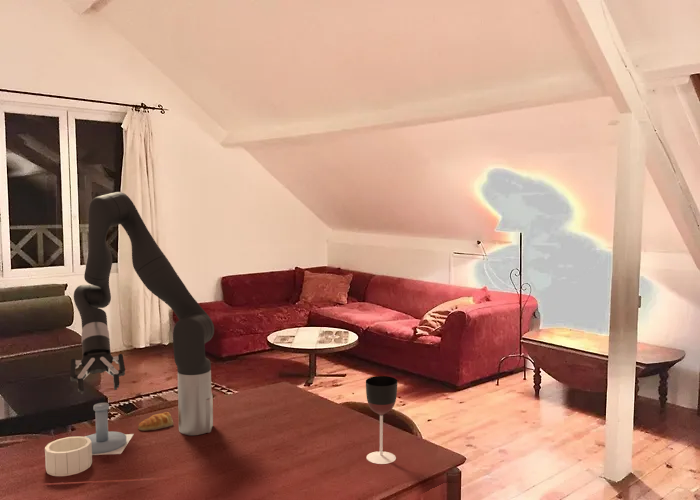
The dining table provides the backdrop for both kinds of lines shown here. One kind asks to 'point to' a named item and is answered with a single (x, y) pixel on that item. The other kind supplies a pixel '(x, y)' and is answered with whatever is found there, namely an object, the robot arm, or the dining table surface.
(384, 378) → the wineglass
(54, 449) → the cup
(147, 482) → the dining table surface
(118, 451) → the mat
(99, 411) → the lid
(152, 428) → the pastry
